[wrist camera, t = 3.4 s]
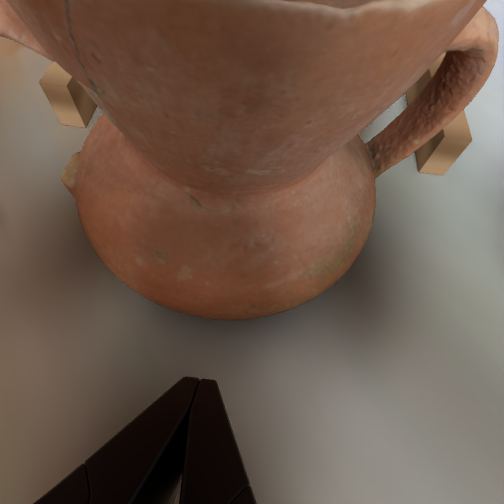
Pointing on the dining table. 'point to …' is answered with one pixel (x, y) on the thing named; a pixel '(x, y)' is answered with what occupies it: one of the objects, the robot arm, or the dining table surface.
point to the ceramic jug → (247, 132)
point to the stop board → (443, 143)
